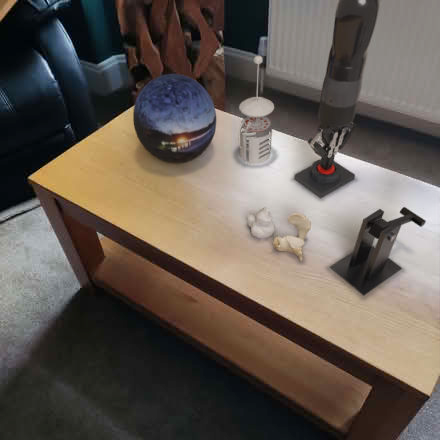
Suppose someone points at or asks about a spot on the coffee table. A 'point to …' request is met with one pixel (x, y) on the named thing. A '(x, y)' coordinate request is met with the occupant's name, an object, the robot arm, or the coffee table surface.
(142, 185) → the coffee table surface
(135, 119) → the decorative sphere
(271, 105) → the french press
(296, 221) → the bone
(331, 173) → the button
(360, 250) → the bracket
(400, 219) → the lever
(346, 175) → the control block
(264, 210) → the white lumpy piece
